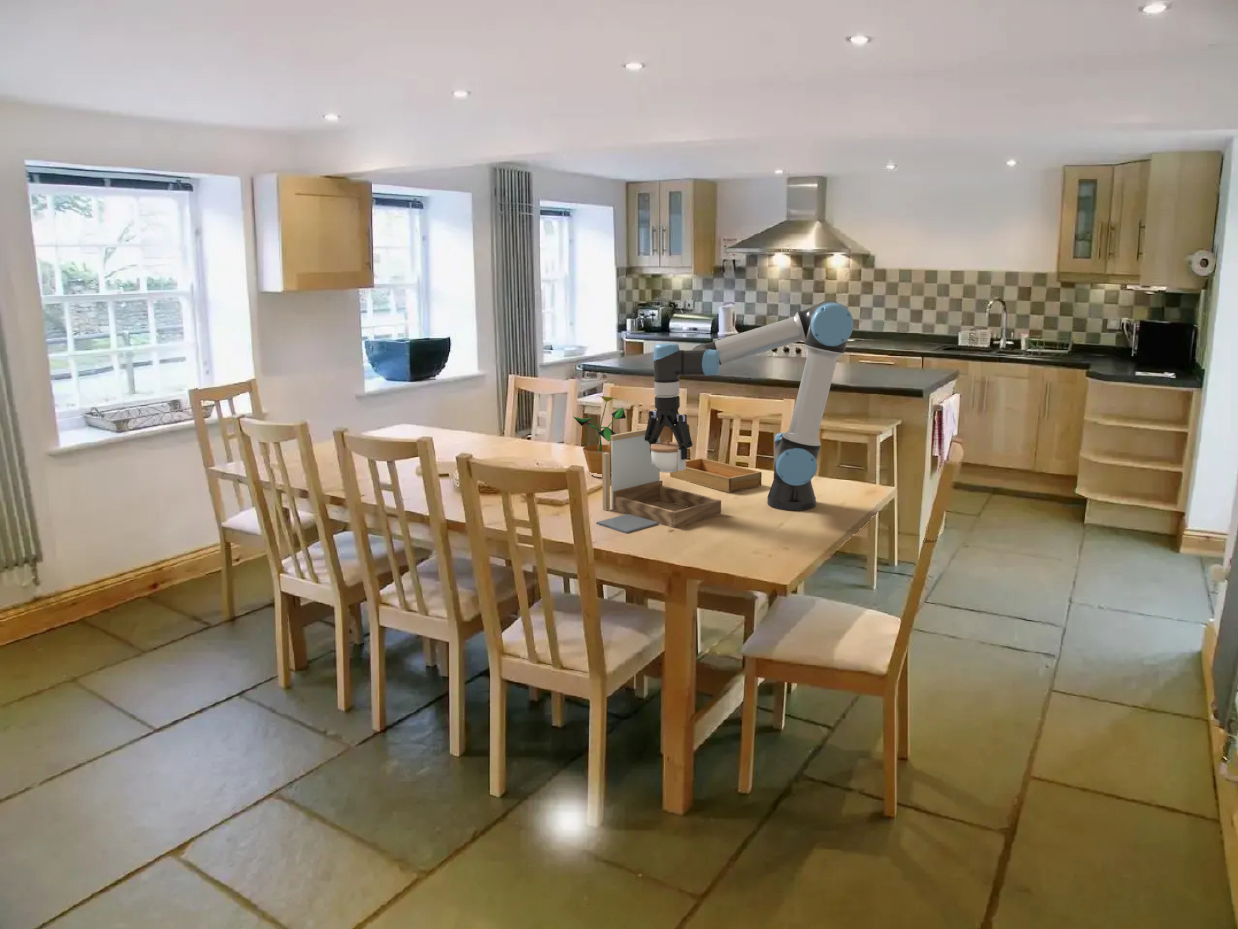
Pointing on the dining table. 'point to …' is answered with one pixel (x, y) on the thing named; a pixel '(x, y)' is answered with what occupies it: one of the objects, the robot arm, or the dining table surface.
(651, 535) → the dining table surface
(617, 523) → the slate mat
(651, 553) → the dining table surface
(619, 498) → the dark wooden box
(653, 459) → the lidded jar
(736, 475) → the tray
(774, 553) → the dining table surface
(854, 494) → the dining table surface
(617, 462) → the white upright flat panel
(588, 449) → the potted plant
